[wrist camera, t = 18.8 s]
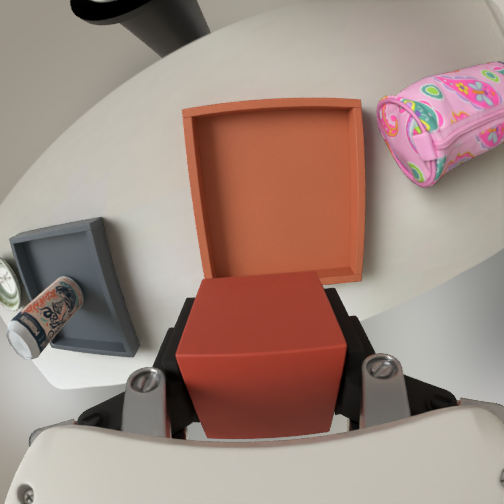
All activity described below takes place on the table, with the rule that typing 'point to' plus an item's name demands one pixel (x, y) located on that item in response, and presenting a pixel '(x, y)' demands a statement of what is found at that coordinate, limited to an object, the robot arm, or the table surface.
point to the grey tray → (88, 279)
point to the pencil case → (444, 121)
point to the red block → (262, 356)
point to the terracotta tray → (278, 187)
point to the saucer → (9, 287)
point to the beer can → (44, 317)
